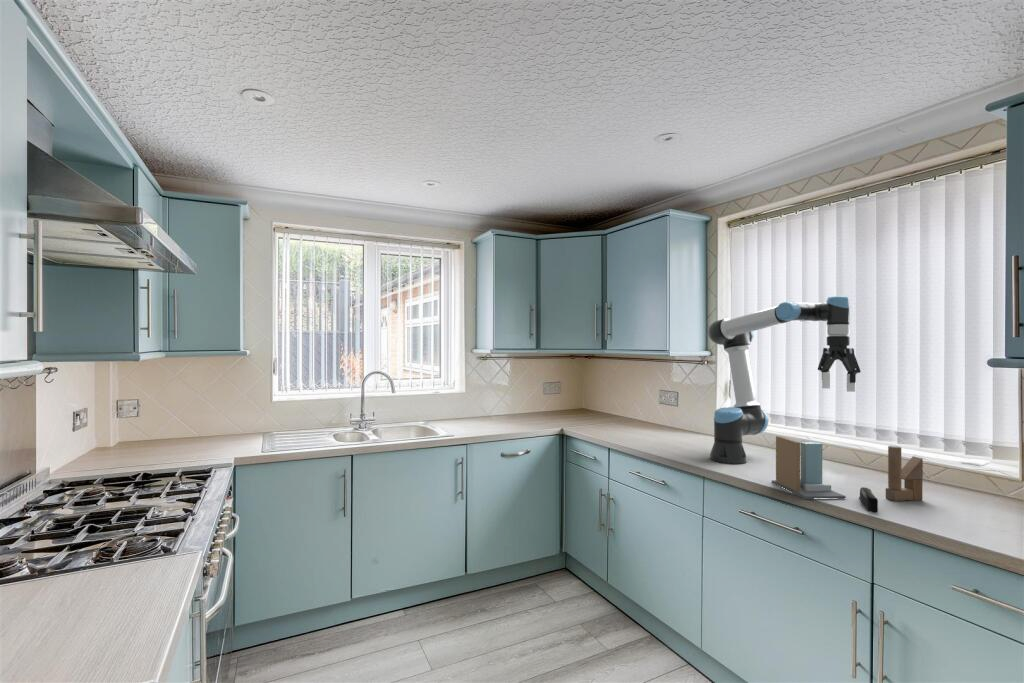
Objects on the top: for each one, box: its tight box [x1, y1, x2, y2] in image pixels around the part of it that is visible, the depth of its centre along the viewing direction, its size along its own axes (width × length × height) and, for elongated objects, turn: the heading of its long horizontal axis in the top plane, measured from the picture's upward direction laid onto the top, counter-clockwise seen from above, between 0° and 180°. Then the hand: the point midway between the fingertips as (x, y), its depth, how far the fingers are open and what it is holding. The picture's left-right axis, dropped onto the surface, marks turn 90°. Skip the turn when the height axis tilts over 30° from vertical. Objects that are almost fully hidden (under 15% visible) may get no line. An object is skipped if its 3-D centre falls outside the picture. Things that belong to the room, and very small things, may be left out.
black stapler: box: [858, 486, 879, 513], centre depth 161 cm, size 5×3×15 cm
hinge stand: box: [771, 435, 847, 500], centre depth 177 cm, size 20×14×18 cm
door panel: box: [800, 441, 823, 488], centre depth 177 cm, size 3×6×16 cm, turn 93°
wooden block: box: [885, 445, 924, 502], centre depth 168 cm, size 4×11×18 cm, turn 97°
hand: (838, 390), depth 193 cm, fingers open, 13 cm apart
